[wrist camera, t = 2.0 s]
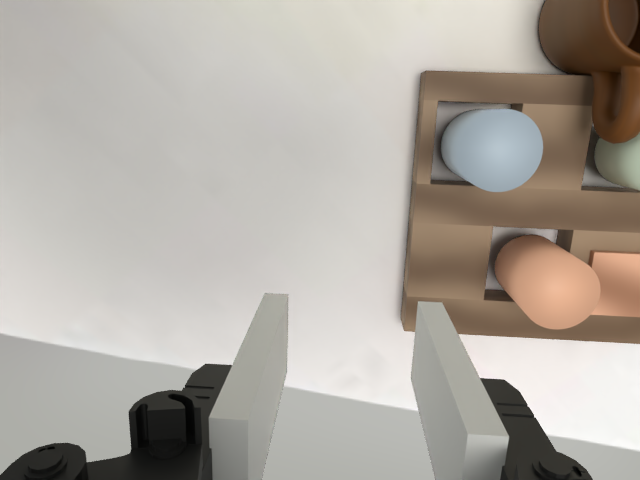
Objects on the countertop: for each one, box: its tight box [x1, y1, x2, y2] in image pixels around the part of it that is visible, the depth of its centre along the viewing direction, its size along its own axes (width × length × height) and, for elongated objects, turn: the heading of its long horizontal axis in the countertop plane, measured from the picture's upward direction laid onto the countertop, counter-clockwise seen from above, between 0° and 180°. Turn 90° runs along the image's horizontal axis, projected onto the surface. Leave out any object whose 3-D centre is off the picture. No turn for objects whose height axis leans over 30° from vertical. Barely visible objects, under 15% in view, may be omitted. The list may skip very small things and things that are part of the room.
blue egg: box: [441, 109, 543, 192], centre depth 32 cm, size 5×5×6 cm
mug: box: [539, 0, 640, 144], centre depth 31 cm, size 12×8×9 cm, turn 176°
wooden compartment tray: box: [401, 71, 640, 344], centre depth 37 cm, size 20×20×3 cm
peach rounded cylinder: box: [494, 235, 601, 329], centre depth 35 cm, size 5×5×6 cm
